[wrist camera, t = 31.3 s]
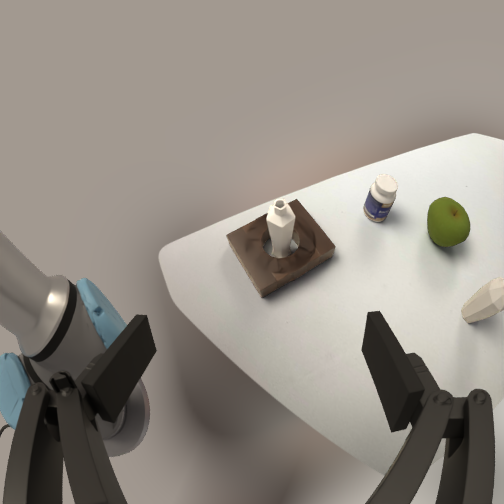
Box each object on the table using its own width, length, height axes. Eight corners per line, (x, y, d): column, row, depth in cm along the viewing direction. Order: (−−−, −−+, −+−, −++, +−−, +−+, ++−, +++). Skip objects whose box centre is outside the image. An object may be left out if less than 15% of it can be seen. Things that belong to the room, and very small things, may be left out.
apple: (410, 220, 54) (427, 193, 46) (441, 212, 55) (458, 186, 46) (432, 262, 49) (454, 239, 41) (462, 249, 50) (484, 227, 41)
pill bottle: (377, 227, 55) (391, 198, 46) (357, 210, 57) (368, 180, 48) (391, 213, 56) (405, 184, 47) (372, 197, 58) (383, 167, 49)
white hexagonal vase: (265, 245, 55) (259, 198, 42) (286, 237, 56) (286, 189, 42) (274, 264, 53) (271, 220, 40) (295, 256, 54) (298, 211, 40)
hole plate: (262, 298, 50) (260, 291, 47) (229, 244, 56) (225, 234, 53) (332, 257, 53) (336, 247, 49) (295, 209, 59) (296, 198, 55)
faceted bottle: (469, 293, 45) (532, 243, 26) (482, 316, 42) (549, 274, 23) (454, 308, 44) (520, 261, 25) (467, 332, 41) (539, 295, 22)
